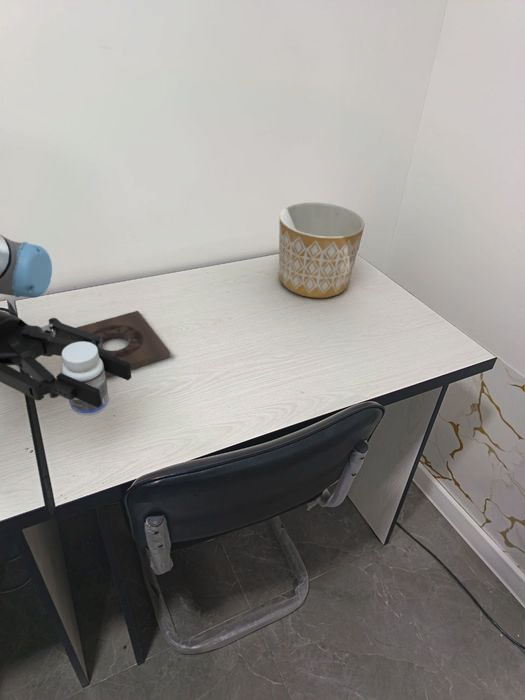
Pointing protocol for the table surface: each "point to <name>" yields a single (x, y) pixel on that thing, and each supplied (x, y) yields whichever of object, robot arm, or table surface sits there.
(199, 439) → the table surface
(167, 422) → the table surface
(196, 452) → the table surface
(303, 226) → the planter
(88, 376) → the pill bottle
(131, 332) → the socket plate
